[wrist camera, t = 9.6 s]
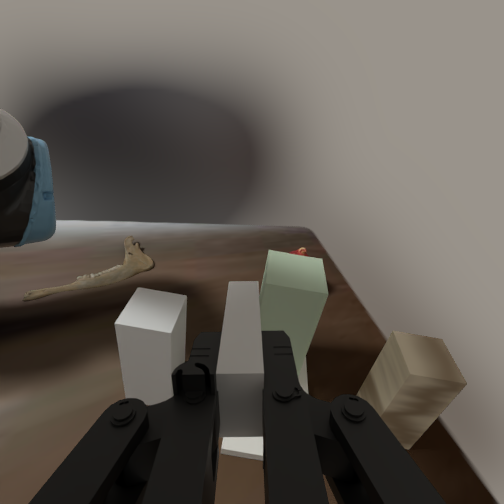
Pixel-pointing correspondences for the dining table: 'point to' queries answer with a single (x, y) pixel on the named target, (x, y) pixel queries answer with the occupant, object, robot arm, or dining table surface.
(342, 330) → the dining table surface
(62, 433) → the dining table surface
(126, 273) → the jawbone
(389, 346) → the birch block
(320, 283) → the pale green block
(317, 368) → the dining table surface
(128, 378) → the grey block
